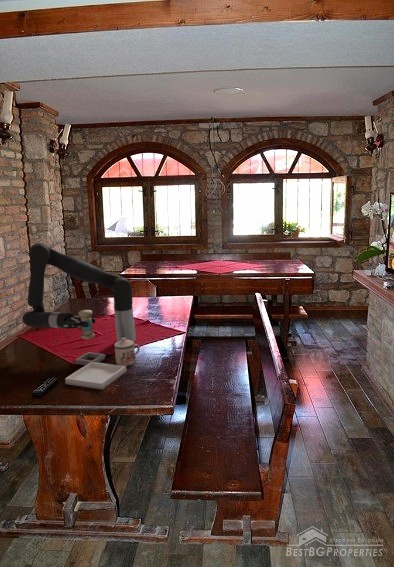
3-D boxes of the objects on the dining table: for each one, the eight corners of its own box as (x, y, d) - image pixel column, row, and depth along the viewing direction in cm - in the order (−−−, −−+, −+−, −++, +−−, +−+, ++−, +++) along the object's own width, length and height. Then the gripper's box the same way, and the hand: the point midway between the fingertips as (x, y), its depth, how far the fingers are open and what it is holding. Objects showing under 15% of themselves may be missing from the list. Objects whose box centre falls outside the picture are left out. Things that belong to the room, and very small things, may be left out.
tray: (92, 367, 202) (91, 361, 201) (126, 371, 195) (126, 366, 194) (65, 384, 186) (65, 378, 185) (102, 389, 179) (101, 383, 178)
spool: (86, 334, 211) (83, 309, 208) (97, 335, 208) (94, 310, 206) (78, 338, 205) (75, 313, 203) (89, 339, 203) (86, 314, 200)
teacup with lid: (121, 368, 199) (118, 343, 196) (112, 362, 206) (109, 338, 204) (145, 360, 206) (143, 336, 203) (135, 355, 213) (133, 332, 210)
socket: (88, 356, 215) (88, 352, 215) (105, 358, 212) (104, 354, 211) (75, 363, 207) (75, 359, 206) (93, 366, 203) (92, 361, 203)
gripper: (49, 317, 204) (80, 319, 197) (70, 308, 216) (99, 310, 210) (51, 332, 205) (82, 335, 199) (71, 323, 218) (101, 325, 211)
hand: (91, 322), depth 204 cm, fingers closed on spool, 4 cm apart
